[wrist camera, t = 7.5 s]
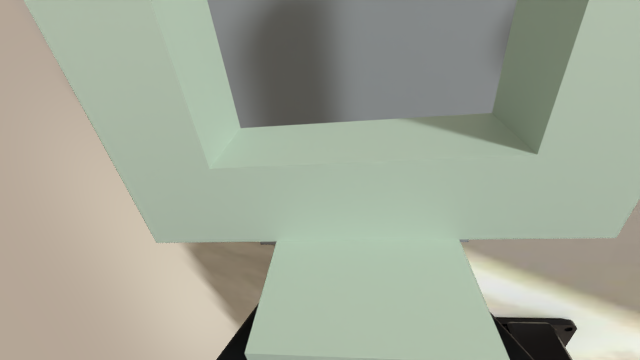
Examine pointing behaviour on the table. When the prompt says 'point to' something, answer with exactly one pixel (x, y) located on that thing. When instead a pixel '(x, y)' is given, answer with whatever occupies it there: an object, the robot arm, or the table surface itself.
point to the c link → (364, 170)
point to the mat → (360, 58)
